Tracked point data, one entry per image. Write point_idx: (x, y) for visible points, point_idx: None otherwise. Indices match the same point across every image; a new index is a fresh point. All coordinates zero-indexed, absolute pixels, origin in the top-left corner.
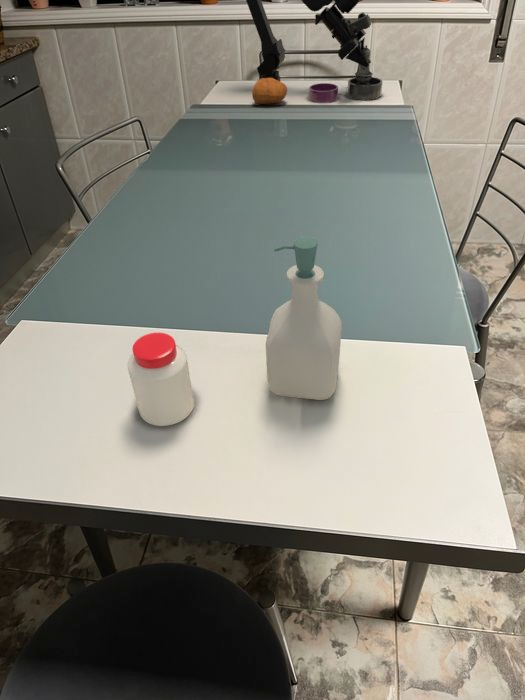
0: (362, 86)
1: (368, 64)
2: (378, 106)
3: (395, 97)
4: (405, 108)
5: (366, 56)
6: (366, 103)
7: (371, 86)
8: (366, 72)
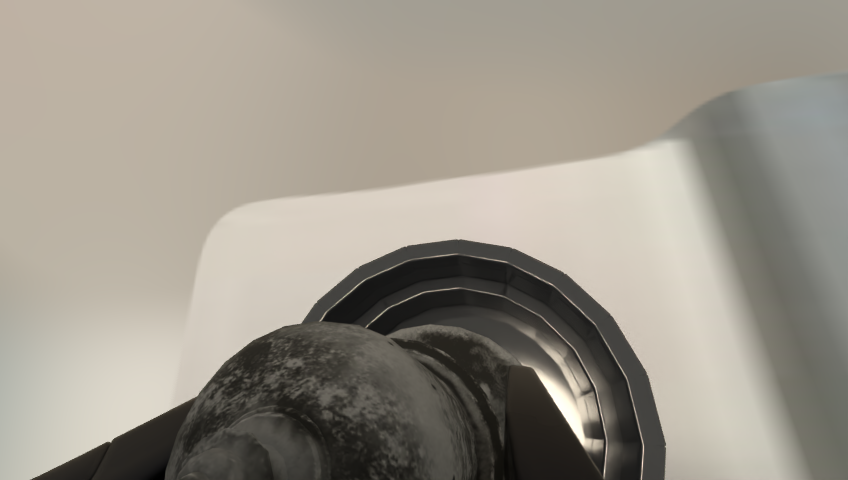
0: (663, 452)
1: (535, 374)
2: (764, 282)
3: (489, 182)
4: (747, 100)
5: (466, 430)
6: (704, 392)
7: (626, 340)
8: (494, 410)
